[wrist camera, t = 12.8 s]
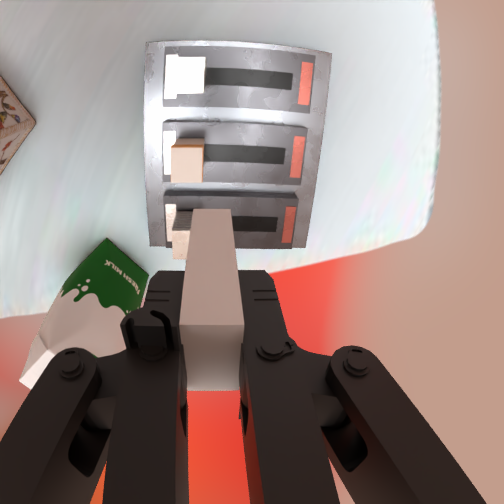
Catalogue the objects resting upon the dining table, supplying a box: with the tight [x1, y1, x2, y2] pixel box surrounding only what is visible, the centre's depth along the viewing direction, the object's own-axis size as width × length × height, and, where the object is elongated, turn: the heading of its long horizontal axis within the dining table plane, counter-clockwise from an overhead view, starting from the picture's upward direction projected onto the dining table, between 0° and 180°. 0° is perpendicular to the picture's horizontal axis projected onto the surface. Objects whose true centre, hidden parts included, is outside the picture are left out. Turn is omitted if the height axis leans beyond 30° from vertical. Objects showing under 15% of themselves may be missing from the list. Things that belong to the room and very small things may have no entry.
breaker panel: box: [144, 40, 332, 259], centre depth 27 cm, size 21×17×8 cm
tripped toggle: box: [170, 138, 204, 183], centre depth 25 cm, size 3×2×4 cm
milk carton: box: [19, 238, 149, 389], centre depth 28 cm, size 9×9×20 cm
